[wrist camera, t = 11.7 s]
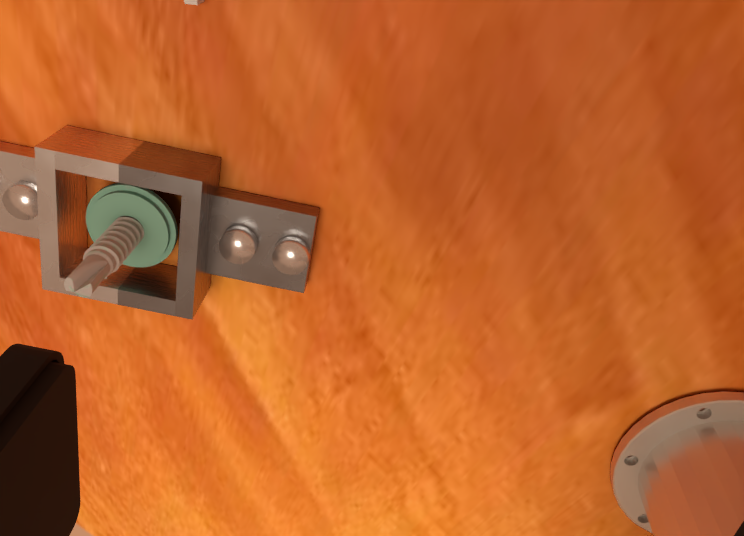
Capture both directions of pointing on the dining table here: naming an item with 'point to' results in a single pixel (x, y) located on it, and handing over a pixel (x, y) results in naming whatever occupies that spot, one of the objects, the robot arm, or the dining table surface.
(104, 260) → the screw
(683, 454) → the robot arm
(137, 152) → the riveted metal bracket
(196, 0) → the pliers
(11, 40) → the dining table surface
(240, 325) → the dining table surface
